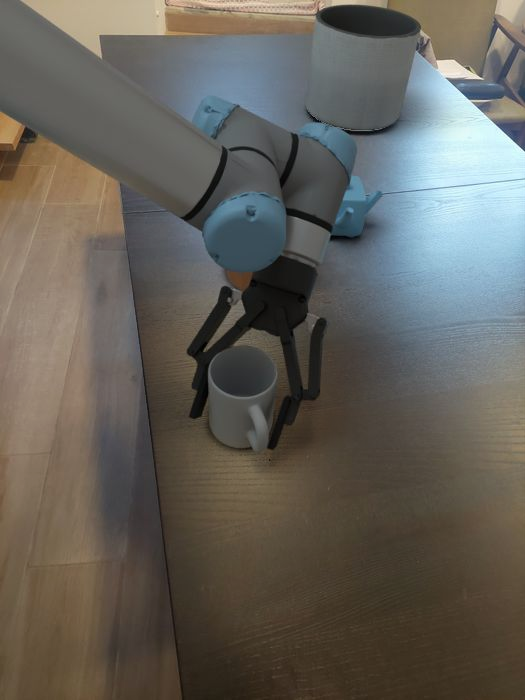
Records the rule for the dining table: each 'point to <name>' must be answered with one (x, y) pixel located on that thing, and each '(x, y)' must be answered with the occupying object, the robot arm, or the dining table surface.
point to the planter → (360, 66)
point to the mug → (242, 396)
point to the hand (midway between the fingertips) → (232, 431)
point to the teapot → (354, 209)
